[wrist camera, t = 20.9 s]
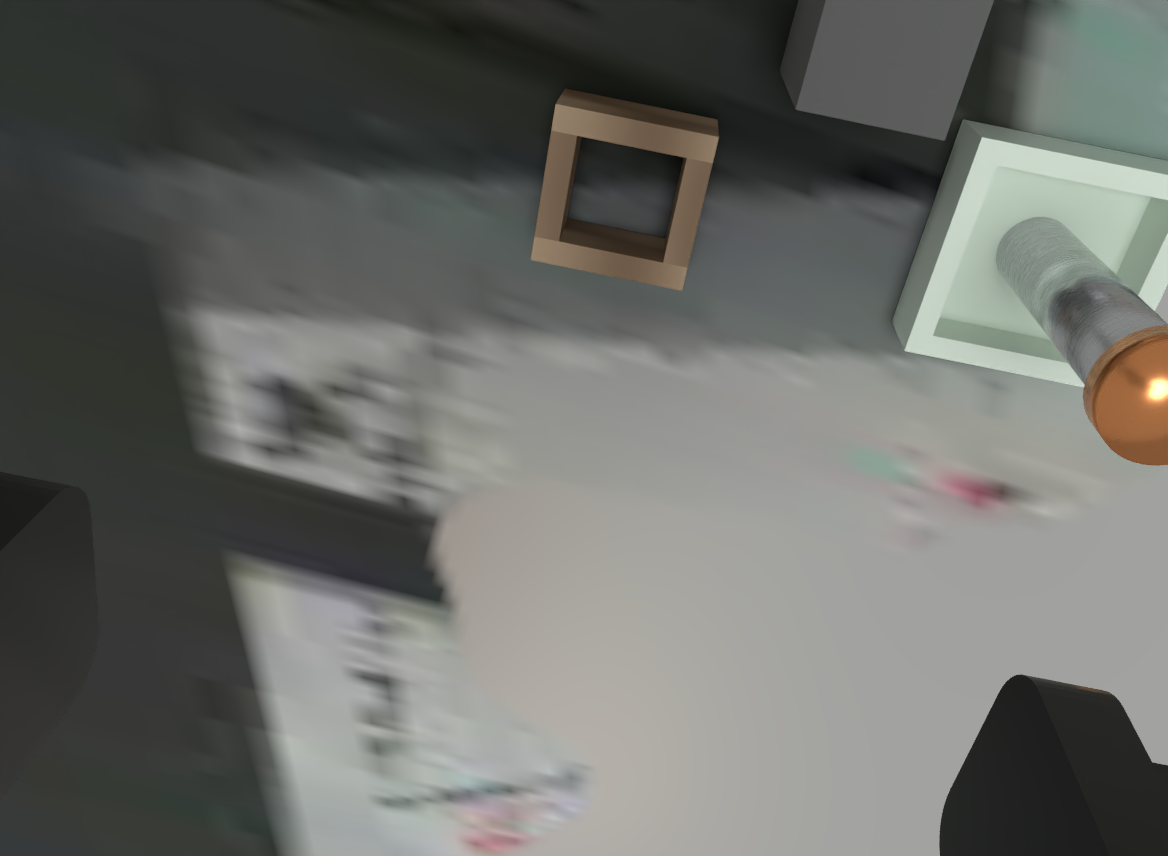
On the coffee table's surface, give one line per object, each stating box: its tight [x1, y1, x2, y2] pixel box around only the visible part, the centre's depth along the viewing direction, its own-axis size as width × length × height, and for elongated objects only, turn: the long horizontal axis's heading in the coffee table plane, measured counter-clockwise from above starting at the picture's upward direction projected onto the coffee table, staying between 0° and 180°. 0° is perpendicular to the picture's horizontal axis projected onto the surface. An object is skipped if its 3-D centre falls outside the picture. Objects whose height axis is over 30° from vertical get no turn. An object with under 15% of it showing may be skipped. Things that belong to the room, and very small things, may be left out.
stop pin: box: [996, 217, 1168, 465], centre depth 29 cm, size 3×3×11 cm
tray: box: [892, 119, 1168, 387], centre depth 33 cm, size 7×7×2 cm
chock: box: [780, 0, 994, 141], centre depth 28 cm, size 4×5×6 cm
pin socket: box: [531, 89, 719, 291], centre depth 33 cm, size 5×5×2 cm
